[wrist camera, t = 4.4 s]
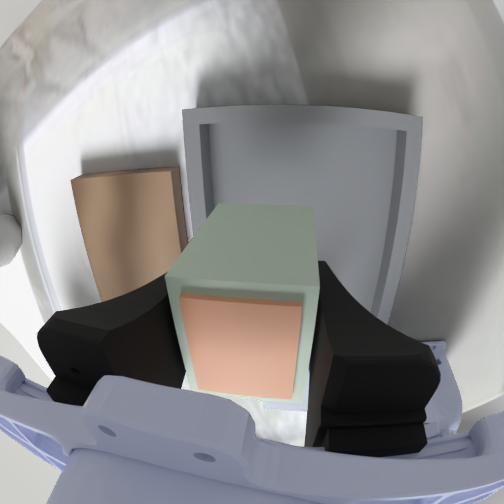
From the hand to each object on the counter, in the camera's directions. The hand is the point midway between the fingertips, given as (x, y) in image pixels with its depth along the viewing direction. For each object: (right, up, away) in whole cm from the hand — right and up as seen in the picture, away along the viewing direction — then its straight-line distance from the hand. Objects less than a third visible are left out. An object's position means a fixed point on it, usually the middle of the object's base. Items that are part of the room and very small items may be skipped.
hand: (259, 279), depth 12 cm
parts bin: (+3, 0, +10) cm, 11 cm away
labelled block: (0, +1, +2) cm, 2 cm away
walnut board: (-10, 0, +12) cm, 16 cm away
